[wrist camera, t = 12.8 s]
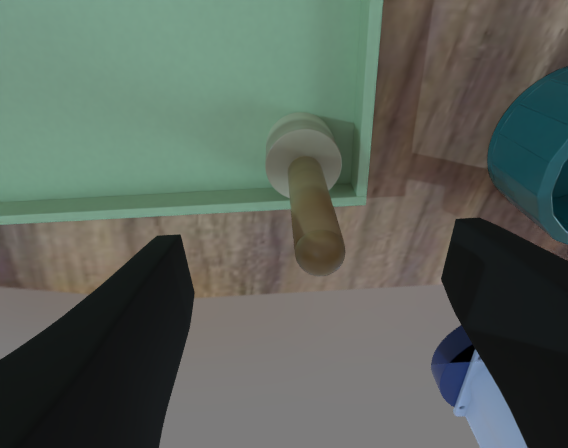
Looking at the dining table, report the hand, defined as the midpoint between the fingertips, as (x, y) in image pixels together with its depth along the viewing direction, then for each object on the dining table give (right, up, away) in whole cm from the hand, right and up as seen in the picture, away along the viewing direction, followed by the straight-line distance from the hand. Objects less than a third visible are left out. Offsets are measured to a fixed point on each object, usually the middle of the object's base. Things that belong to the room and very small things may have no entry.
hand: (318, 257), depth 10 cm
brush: (0, +5, +7) cm, 9 cm away
